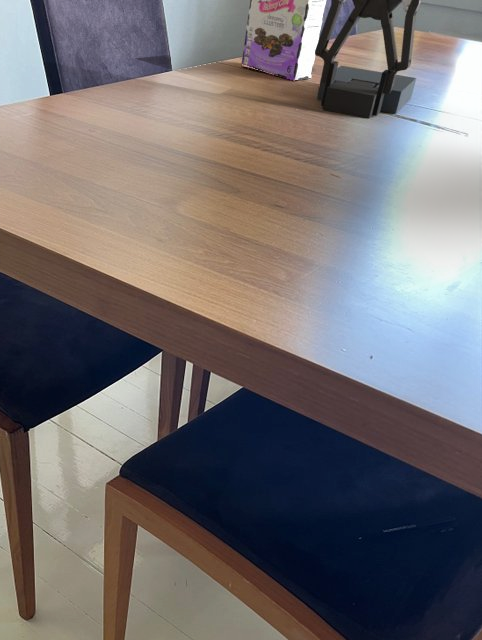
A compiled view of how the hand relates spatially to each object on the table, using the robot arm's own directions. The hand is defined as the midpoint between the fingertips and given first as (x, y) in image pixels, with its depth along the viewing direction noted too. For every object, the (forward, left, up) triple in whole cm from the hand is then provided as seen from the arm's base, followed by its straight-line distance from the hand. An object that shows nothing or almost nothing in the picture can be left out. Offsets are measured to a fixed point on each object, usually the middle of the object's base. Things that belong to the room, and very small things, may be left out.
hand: (350, 109), depth 124 cm
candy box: (+20, -19, 0) cm, 28 cm away
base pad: (0, -10, 0) cm, 11 cm away
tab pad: (0, -2, 0) cm, 2 cm away
